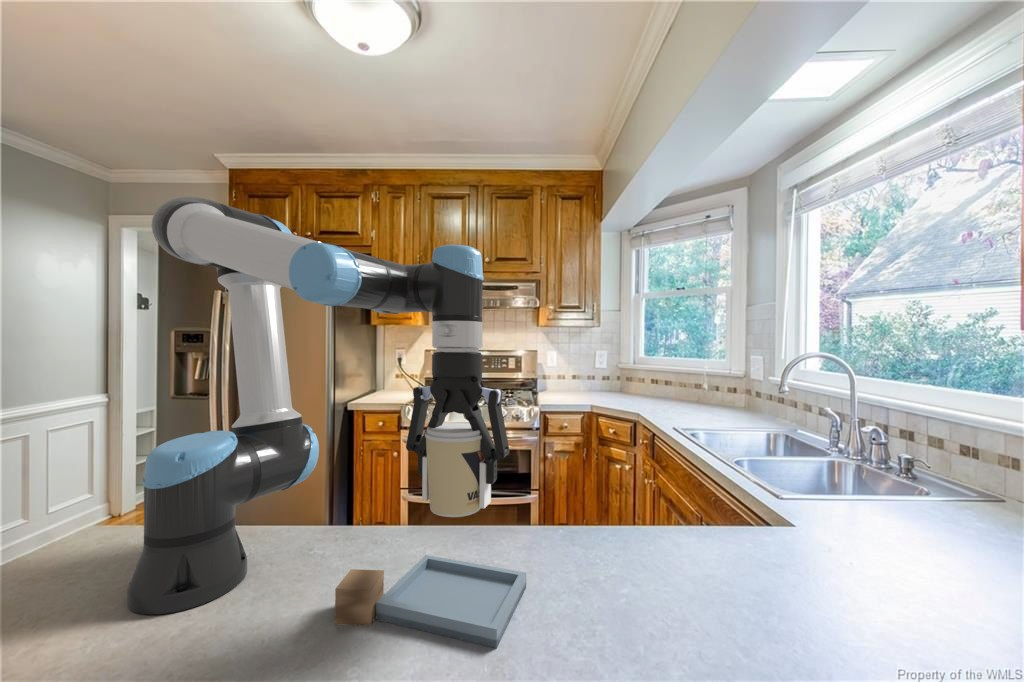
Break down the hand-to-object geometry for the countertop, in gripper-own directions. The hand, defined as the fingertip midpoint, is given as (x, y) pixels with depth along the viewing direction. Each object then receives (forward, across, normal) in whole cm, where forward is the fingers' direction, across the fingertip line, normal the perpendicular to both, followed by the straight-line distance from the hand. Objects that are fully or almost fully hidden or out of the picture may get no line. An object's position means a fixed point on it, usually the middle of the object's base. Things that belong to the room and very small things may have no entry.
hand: (456, 501), depth 63 cm
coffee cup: (+1, 0, 0) cm, 1 cm away
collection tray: (+15, 0, 0) cm, 15 cm away
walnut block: (+15, -12, -6) cm, 20 cm away
